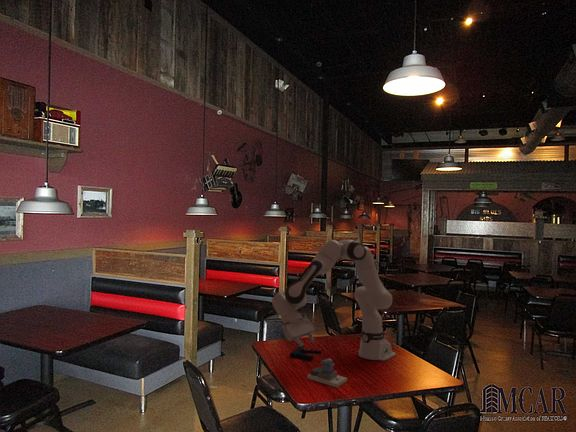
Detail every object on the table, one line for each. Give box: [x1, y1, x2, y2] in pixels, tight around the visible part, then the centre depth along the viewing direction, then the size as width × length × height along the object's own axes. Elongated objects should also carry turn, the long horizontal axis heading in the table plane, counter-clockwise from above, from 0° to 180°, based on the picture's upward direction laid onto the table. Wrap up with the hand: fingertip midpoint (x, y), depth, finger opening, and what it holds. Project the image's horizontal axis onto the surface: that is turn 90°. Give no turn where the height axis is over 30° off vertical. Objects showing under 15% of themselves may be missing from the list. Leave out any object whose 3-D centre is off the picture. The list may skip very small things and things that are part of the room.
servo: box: [320, 358, 335, 374], centre depth 192 cm, size 6×3×8 cm, turn 53°
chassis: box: [306, 367, 348, 388], centre depth 192 cm, size 16×10×4 cm, turn 53°
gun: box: [289, 345, 322, 362], centre depth 231 cm, size 24×3×15 cm
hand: (307, 343), depth 199 cm, fingers open, 8 cm apart
